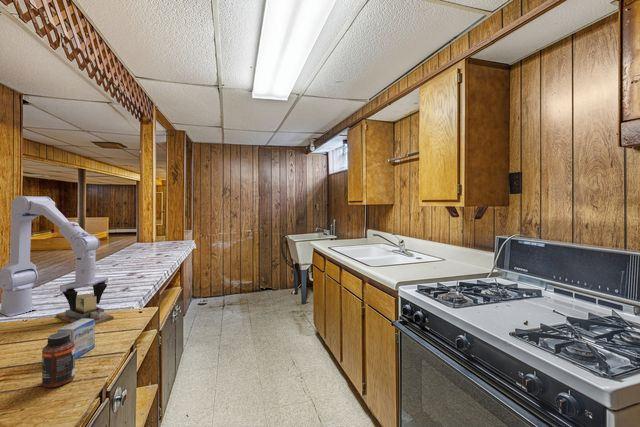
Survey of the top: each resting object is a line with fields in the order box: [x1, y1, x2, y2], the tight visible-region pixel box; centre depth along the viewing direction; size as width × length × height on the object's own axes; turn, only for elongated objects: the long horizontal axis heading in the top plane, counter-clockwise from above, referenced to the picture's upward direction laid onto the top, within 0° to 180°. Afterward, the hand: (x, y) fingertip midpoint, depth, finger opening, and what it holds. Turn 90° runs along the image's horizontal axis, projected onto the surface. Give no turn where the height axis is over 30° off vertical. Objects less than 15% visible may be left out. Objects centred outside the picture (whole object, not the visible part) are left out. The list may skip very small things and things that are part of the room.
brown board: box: [55, 305, 115, 326], centre depth 110 cm, size 19×9×3 cm, turn 64°
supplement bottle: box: [41, 332, 76, 389], centre depth 72 cm, size 6×6×11 cm
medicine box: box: [56, 319, 96, 360], centre depth 85 cm, size 8×4×9 cm, turn 179°
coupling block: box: [74, 293, 97, 314], centre depth 110 cm, size 4×6×7 cm, turn 65°
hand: (85, 306), depth 110 cm, fingers open, 7 cm apart
